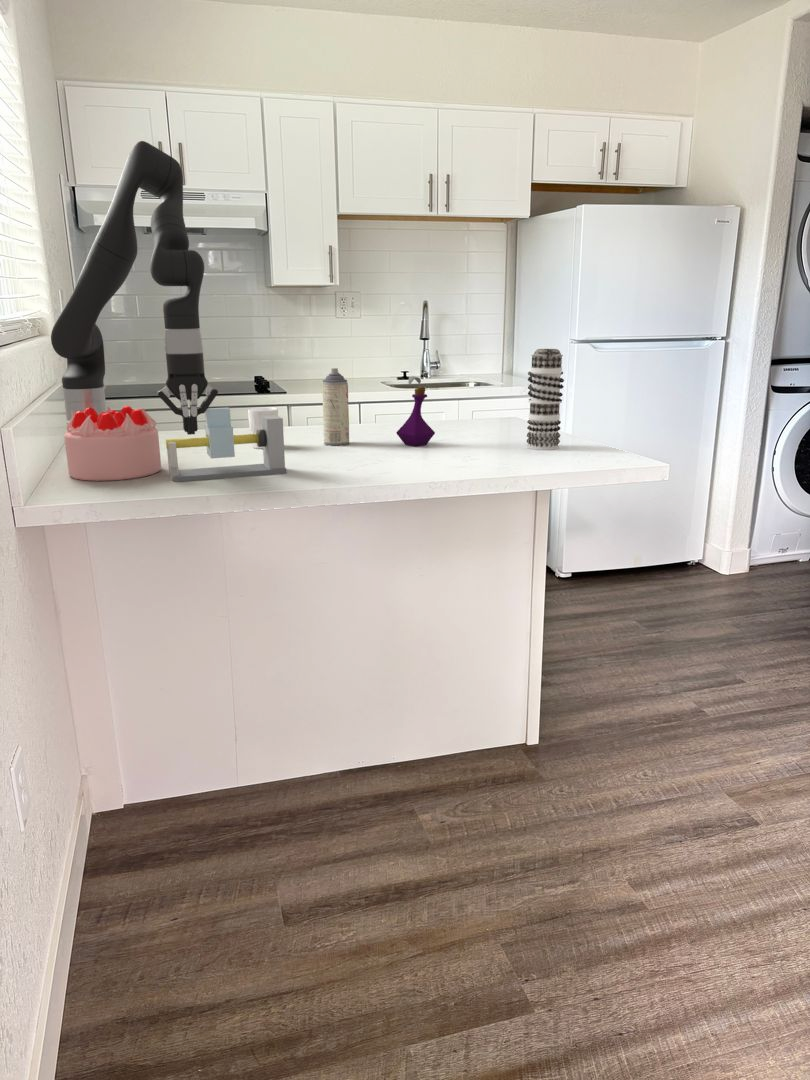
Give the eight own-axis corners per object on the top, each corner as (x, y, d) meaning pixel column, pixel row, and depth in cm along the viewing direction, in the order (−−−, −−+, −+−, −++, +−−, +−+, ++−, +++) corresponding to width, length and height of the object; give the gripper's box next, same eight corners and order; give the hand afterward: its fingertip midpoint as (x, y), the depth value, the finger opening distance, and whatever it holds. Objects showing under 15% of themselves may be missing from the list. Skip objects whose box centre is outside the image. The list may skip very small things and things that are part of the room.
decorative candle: (523, 444, 211) (526, 348, 204) (558, 444, 211) (562, 348, 204) (526, 450, 203) (530, 350, 196) (563, 450, 202) (568, 349, 195)
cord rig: (171, 482, 167) (166, 425, 164) (167, 475, 174) (162, 420, 171) (286, 473, 176) (283, 418, 173) (278, 466, 183) (275, 414, 180)
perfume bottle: (416, 441, 217) (416, 374, 212) (435, 444, 212) (435, 376, 207) (395, 444, 212) (395, 376, 207) (415, 448, 207) (414, 378, 202)
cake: (59, 471, 180) (51, 408, 176) (146, 461, 191) (141, 402, 187) (82, 485, 165) (74, 417, 161) (175, 474, 176) (170, 409, 172)
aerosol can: (353, 444, 213) (351, 368, 207) (329, 446, 210) (327, 369, 204) (343, 441, 218) (341, 367, 213) (320, 443, 215) (317, 368, 210)
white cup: (244, 448, 208) (242, 410, 205) (258, 444, 215) (256, 406, 212) (271, 450, 205) (269, 411, 203) (284, 445, 213) (283, 407, 210)
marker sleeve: (211, 458, 170) (207, 410, 167) (207, 453, 176) (203, 407, 173) (234, 456, 172) (231, 409, 169) (229, 452, 177) (226, 406, 174)
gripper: (152, 352, 159) (160, 438, 164) (219, 351, 164) (225, 434, 169) (149, 351, 166) (157, 433, 171) (213, 349, 171) (219, 429, 176)
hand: (191, 433), depth 170 cm, fingers closed
